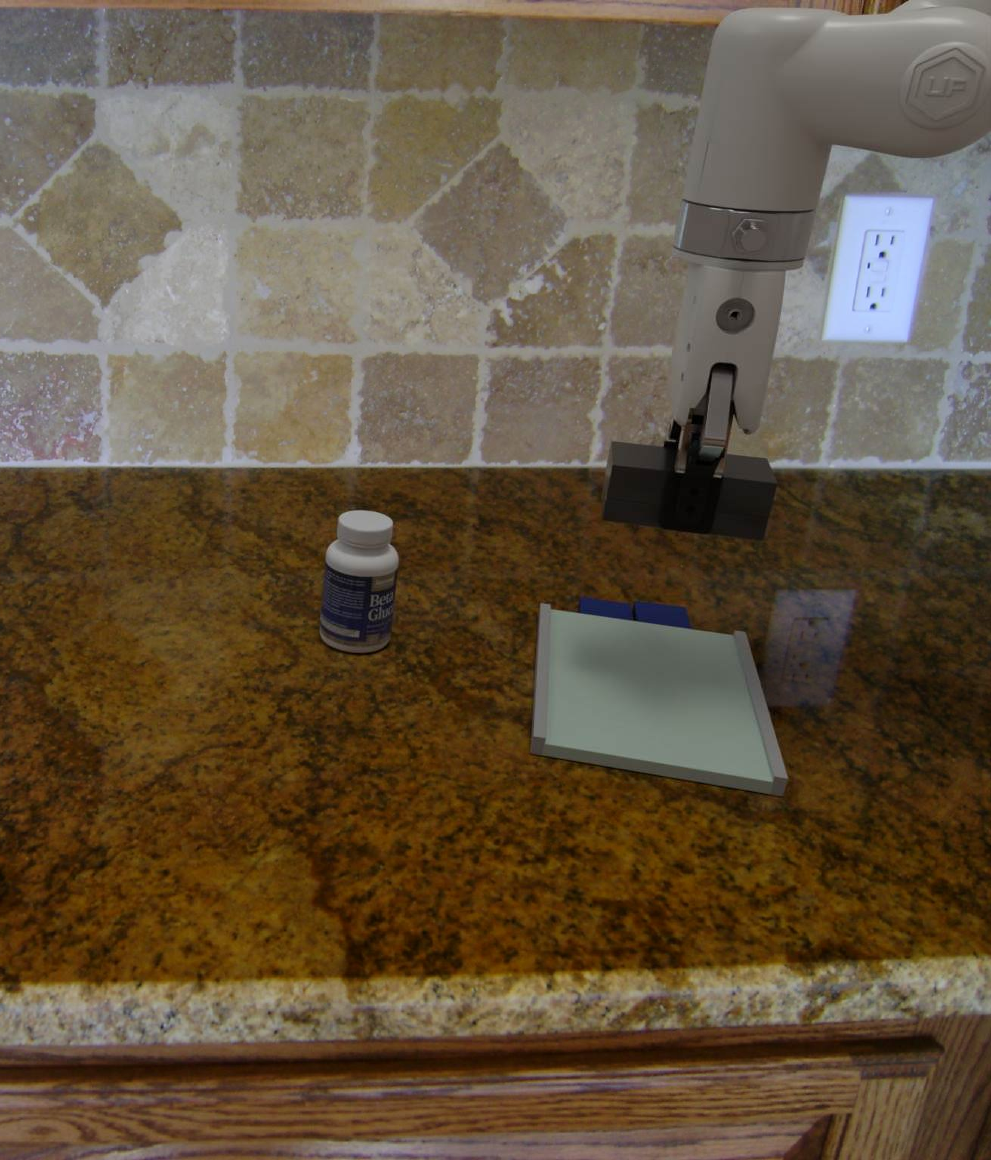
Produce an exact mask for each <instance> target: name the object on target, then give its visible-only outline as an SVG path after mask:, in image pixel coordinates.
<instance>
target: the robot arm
mask: <svg viewBox="0 0 991 1160" xmlns="http://www.w3.org/2000/svg"><path fill="white" fill-rule="evenodd" d="M989 133H991V0H907V1H905V2H904V3H902V4H900V5H899V6H897V7H896V8H894V9H892V10H891V11H889V12H888V13H875V14H851V15H850V14H849V15H848V14H847V13H844V12H842V11H839V10H833V9H828V8H827V9H826V8H812V7H748V8H740V9H737V10H735V11H732V12H730V13H729V14H727V15H726V16H724V17H723V19H722V20H721V21H720V22H719V24H718V25H717V27H716V28H715V32H714V34H713V38H712V42H711V45H710V50H709V54H708V58H707V64H706V71H705V75H704V79H703V86H702V91H701V97H700V101H699V106H698V112H697V117H696V122H695V128H694V132H693V138H692V143H691V149H690V154H689V159H688V163H687V169H686V174H685V179H684V185H683V189H682V193H681V200H680V205H679V210H678V215H677V220H676V224H675V225H676V226H675V231H674V236H673V240H672V247H671V252H670V255H671V256H672V257H673V258H675V259H678V260H679V261H684V262H687V263H688V265H687V266H688V267H687V272H686V276H685V281H684V285H683V290H682V295H681V300H680V304H679V310H678V316H677V320H676V325H675V326H676V327H675V331H674V338H673V342H672V349H671V357H670V364H669V371H668V381H667V395H668V399H669V404H670V409H671V414H672V415H671V419H670V423H669V427H668V432H667V440H664V441H663V445H662V447H670V448H678V453H677V458H676V464H675V469H673V468H670V469H669V474H668V479H667V484H666V489H665V494H664V498H663V503H662V508H661V513H660V518H659V525H660V527H661V528H660V529H662V530H665V531H674V532H681V533H690V534H698V535H709V534H708V533H710V532H711V530H712V526H713V522H714V517H715V513H716V509H717V504H718V500H719V495H720V491H721V487H722V482H723V478H724V476H723V471H724V466H725V460H726V455H727V454H728V448H729V442H730V438H731V433H732V428H733V427H732V426H733V421H734V418H735V421H736V424H737V427H738V428H739V430H742V431H743V434H744V435H752V434H754V433H755V432H756V431H758V430H759V428H760V424H761V420H762V415H763V411H764V404H765V400H766V395H767V394H766V393H767V389H768V383H769V379H770V374H771V368H772V364H773V359H774V355H775V354H774V353H775V349H776V344H777V338H778V334H779V333H778V332H779V326H780V321H781V315H782V307H783V302H784V294H785V293H784V292H785V286H786V285H785V283H786V275H787V271H794V270H795V271H796V270H800V269H801V268H803V267H804V263H805V260H806V255H807V251H808V247H809V243H810V238H811V234H812V230H813V226H814V222H815V218H816V214H817V209H818V206H819V201H820V198H821V194H822V189H823V186H824V181H825V177H826V173H827V169H828V164H829V160H830V157H831V152H832V148H833V145H834V146H841V147H848V148H853V149H858V150H864V151H869V152H874V153H878V154H879V153H880V154H885V155H887V156H888V155H889V156H895V157H899V158H906V159H907V158H908V159H932V158H938V157H943V156H947V155H950V154H953V153H956V152H959V151H961V150H964V149H965V148H967V147H969V146H972V145H973V144H975V143H976V142H978V141H980V140H981V139H982V138H984V137H985V136H987V135H988V134H989Z"/></svg>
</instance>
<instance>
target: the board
mask: <svg viewBox="0 0 991 1160" xmlns="http://www.w3.org/2000/svg"><path fill="white" fill-rule="evenodd" d="M538 609H539V610H538V615H537V628H536V645H535V646H536V648H535V661H534V680H533V696H532V697H533V698H532V716H531V733H530V751H529V752H530V754H531V755H536V756H543V757H548V758H554V759H559V760H560V759H561V760H567V761H572V762H578V763H584V764H590V765H596V766H601V767H608V768H613V769H619V770H625V771H630V772H636V773H642V774H647V775H648V774H649V775H653V776H654V775H655V776H661V777H665V778H672V779H679V780H682V781H683V780H684V781H690V782H696V783H701V784H707V785H713V786H719V787H725V788H730V789H736V790H742V791H748V792H754V793H760V794H766V795H770V796H775V797H776V796H777V797H781V798H782V797H784V794H785V791H786V787H787V785H788V781H789V777H788V773H787V770H786V766H785V762H784V758H783V756H782V753H781V750H780V745H779V742H778V738H777V736H776V731H775V728H774V725H773V721H772V718H771V714H770V711H769V708H768V705H767V704H768V703H767V701H766V698H765V694H764V691H763V688H762V684H761V680H760V677H759V674H758V671H757V667H756V663H755V660H754V657H753V652H752V649H751V646H750V643H749V639H748V636H747V633H746V631H742V630H741V631H740V630H734V631H733V634H727V633H721V632H713V631H707V630H705V631H704V630H698V629H692V628H691V629H686V628H679V627H672V626H665V625H658V624H651V623H644V622H637V621H635V620H633V621H630V620H623V619H616V618H609V617H602V616H595V615H588V614H581V613H579V612H575V611H573V612H572V611H565V610H560V609H559V610H558V609H552V604H551V603H544V602H540V604H539V608H538Z"/></svg>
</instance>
